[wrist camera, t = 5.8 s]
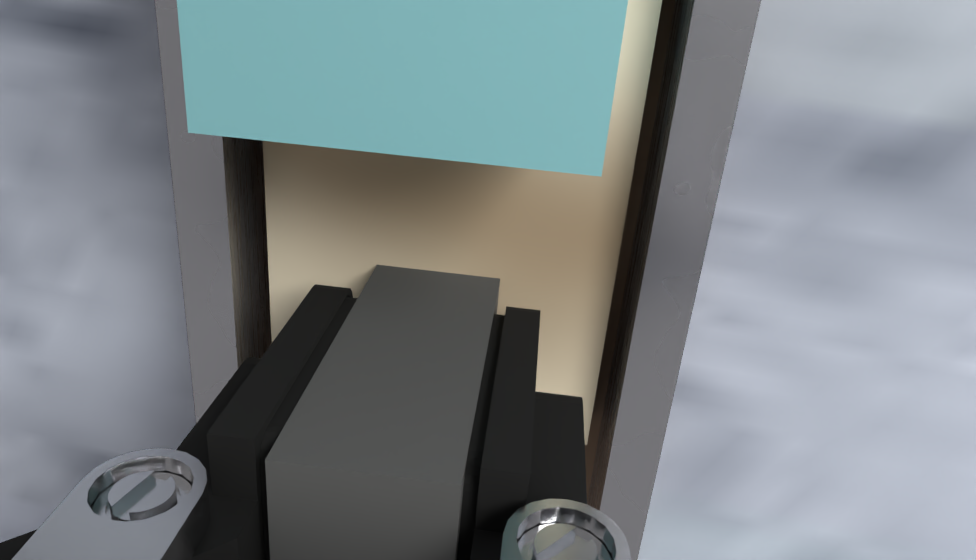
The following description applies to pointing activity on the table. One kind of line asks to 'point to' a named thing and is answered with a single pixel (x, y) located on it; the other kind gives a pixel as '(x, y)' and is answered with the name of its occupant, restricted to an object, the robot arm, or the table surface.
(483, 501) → the robot arm
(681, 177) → the board
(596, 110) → the cube
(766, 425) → the table surface
